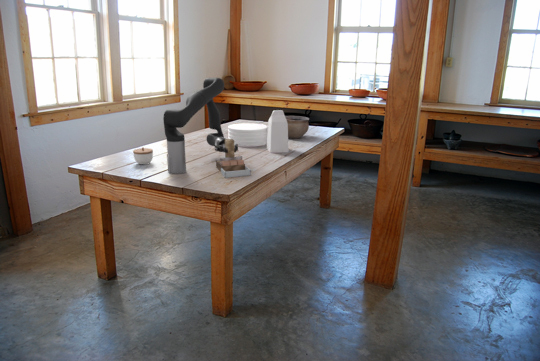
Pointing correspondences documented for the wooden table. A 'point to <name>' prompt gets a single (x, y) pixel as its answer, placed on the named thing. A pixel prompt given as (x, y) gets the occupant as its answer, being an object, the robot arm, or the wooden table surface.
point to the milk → (277, 132)
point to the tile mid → (233, 162)
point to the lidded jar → (143, 155)
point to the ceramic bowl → (297, 126)
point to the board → (229, 167)
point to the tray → (236, 172)
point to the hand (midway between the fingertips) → (231, 150)
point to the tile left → (225, 163)
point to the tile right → (240, 162)
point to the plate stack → (248, 134)
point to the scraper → (230, 151)
